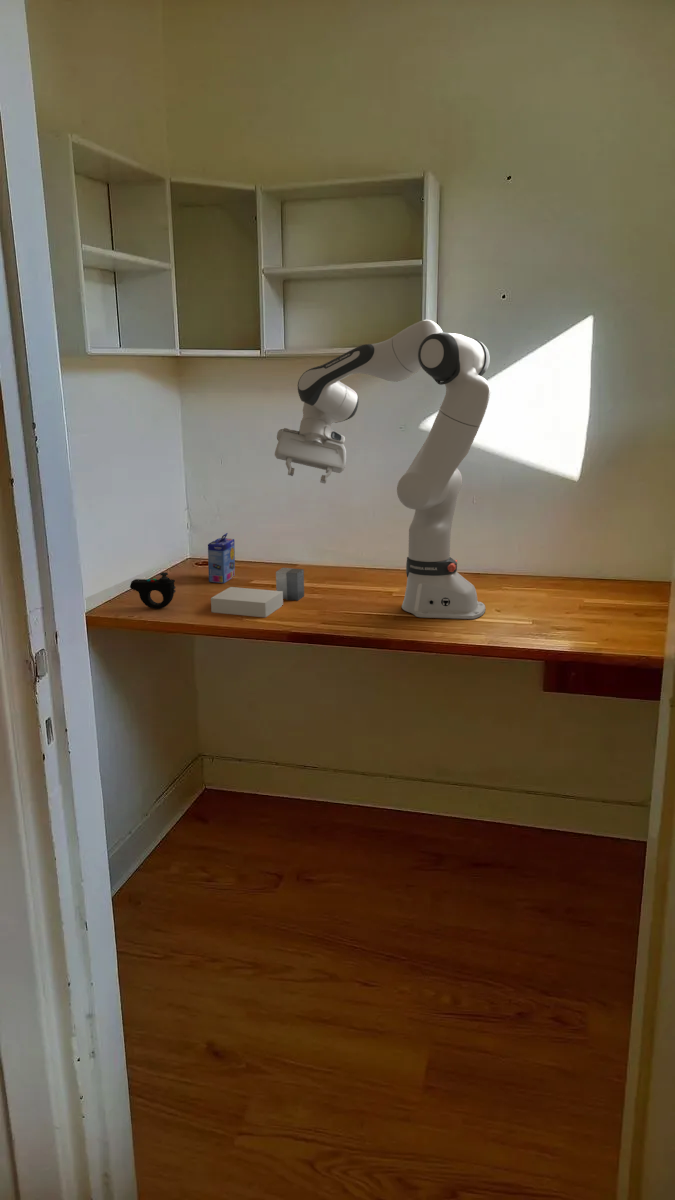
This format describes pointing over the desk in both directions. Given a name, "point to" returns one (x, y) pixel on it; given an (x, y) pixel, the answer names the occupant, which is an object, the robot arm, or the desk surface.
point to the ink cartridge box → (221, 559)
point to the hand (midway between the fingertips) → (306, 478)
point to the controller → (161, 585)
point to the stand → (247, 602)
